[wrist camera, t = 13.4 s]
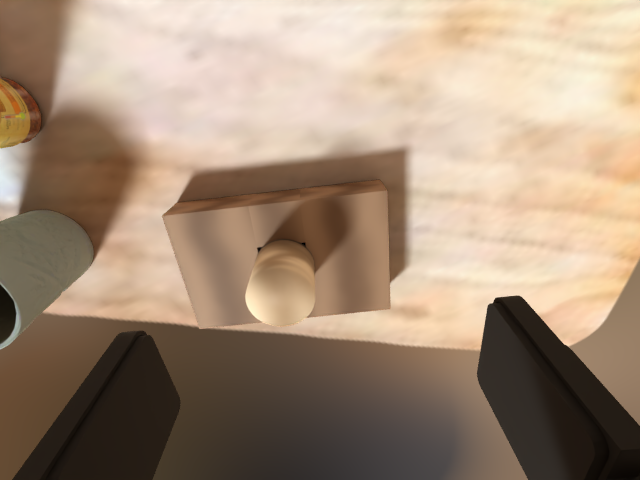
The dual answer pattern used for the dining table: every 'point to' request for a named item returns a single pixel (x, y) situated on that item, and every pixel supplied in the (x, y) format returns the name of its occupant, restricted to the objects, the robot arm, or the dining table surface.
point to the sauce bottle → (17, 114)
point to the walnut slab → (284, 223)
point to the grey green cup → (37, 266)
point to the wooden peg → (282, 283)
